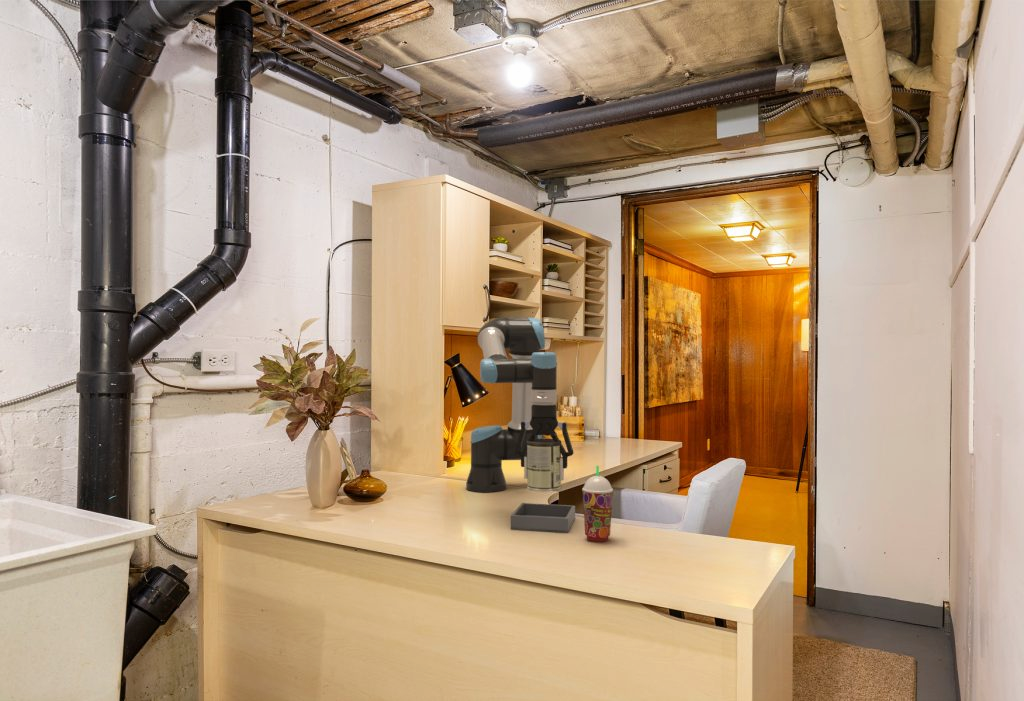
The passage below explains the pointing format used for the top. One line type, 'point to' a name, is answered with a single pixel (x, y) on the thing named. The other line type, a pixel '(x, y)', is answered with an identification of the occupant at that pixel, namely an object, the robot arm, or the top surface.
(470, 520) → the top surface
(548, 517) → the bin
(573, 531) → the top surface
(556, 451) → the coffee can
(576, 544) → the top surface
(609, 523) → the smoothie
